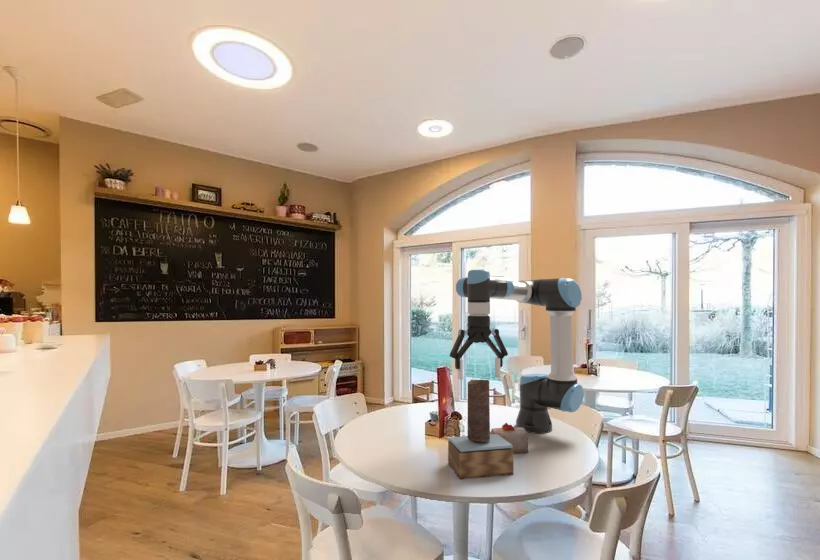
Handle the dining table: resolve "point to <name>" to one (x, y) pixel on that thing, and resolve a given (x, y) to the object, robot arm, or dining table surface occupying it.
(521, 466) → the dining table surface
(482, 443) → the lid
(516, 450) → the food item
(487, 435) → the candle
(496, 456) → the box
